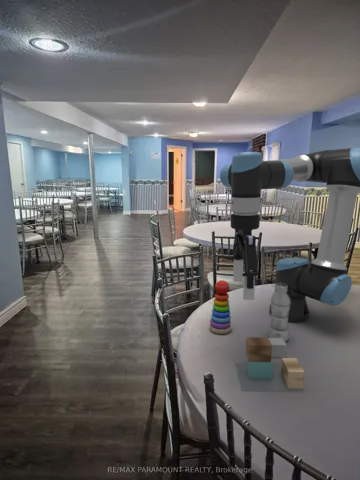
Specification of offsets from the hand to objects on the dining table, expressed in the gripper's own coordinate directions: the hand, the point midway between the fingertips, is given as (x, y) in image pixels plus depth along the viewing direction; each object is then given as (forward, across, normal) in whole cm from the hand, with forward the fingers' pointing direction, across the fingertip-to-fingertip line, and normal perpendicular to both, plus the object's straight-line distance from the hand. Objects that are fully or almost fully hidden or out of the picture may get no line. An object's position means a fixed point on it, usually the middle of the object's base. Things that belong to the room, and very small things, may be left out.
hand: (242, 289), depth 83 cm
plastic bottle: (+25, -14, +16) cm, 32 cm away
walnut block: (+18, +5, +4) cm, 19 cm away
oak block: (+23, +8, +12) cm, 28 cm away
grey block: (+24, -5, +12) cm, 27 cm away
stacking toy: (+24, -22, -3) cm, 33 cm away
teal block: (+23, +5, +4) cm, 24 cm away
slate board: (+24, +6, +6) cm, 26 cm away
